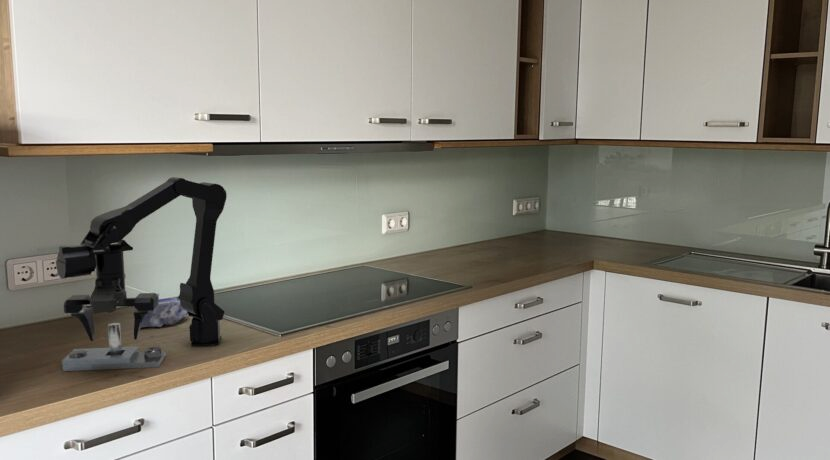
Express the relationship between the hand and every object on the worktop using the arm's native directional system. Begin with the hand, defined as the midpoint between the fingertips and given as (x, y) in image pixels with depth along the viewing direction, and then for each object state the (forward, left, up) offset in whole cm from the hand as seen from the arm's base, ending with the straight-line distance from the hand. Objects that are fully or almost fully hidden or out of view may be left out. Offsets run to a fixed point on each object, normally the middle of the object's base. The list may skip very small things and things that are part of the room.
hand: (114, 340), depth 157 cm
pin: (0, 0, -5) cm, 5 cm away
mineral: (-4, -32, -6) cm, 32 cm away
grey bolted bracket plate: (0, 0, -5) cm, 5 cm away
